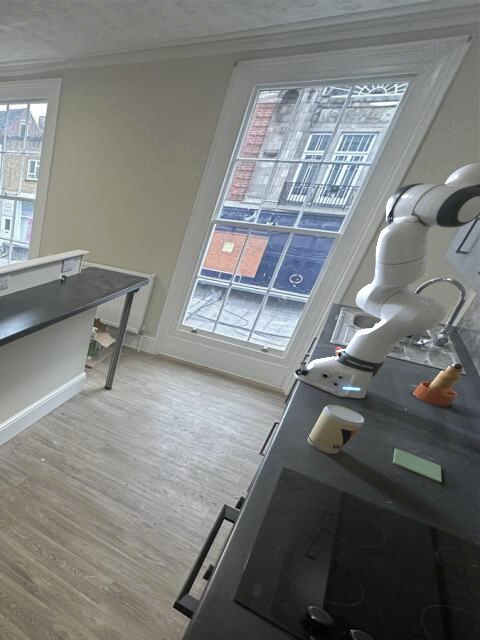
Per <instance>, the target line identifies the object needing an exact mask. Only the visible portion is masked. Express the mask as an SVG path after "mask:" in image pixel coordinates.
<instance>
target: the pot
mask: <svg viewBox="0 0 480 640" xmlns="http://www.w3.org/2000/svg"><path fill="white" fill-rule="evenodd" d="M431 383H432V382H430V381H421V382H420V383H419V384H418V386H417V387H416V388H415V390H413V391H412V394H413V395H414V396H415V397H416V398H418V399H420V400H421V401H424V402H426V403H429V404H432V405H436V406H440V407H449V406H450V405H451V404H452V402H453V401H454V400H455V399H456V398H457V397H458V396H459V394H458V393H457V392H456V391H455V390H453V389H451V390H450V391H449V392H448V393H447V394H446V395H445V394H441V393H438V392H435V391H433V390H430V389H428V387H429V385H430V384H431Z"/></svg>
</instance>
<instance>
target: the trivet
mask: <svg viewBox="0 0 480 640" xmlns="http://www.w3.org/2000/svg"><path fill="white" fill-rule="evenodd" d="M392 464H393V465H396V466H398V467H400V468H402V469H405V470H408V471H410V472H413V473H414V474H418V475H420V476H422V477H424V478H427V479H430V480H431V481H434V482H436V483H439V484H441V483H442V482H443V481H442V466H441V465H440V464H437V463H435V462H432V461H430V460H427V459H425V458H423V457H420V456H417V455H414V454H413V453H409V452H407V451H404V450H402V449H399V448H397V447H396V448H394V453H393V460H392Z"/></svg>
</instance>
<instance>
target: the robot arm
mask: <svg viewBox="0 0 480 640" xmlns="http://www.w3.org/2000/svg"><path fill="white" fill-rule="evenodd" d="M385 214H386V216H385V219H386V222H387V224H388V225H387V226H385V227H384V228H383V230H382V231H381V233H380V235H379V238H378V242H377V246H376V251H375V268H374V269H375V271H374V278H373V281H372V282H371V283H370V284H368V285H366V286H364V287H363V288H361V290H359V292H358V293H357V295H356V297H355V304H356V305H357V307H358V308H359V309H361V310H362V311H363V312H365V313H366V314H368V315H371V316H372V317H375V318H378V319H379V320H380V322H379V323H378V324H376V325H375V326H374V327H371V328H370V327H369V328H363V329H361V330H358V331H357V332H356V333H355V334H354V336H352V338H351V340H350V341H349V343H348V344H347V346H346V348H344V349H343V347H342V346H338V347H336V348H335V350H334V351H335V353H334V354H333V356H330V357H323V358H318V359H314V360H312V361H310V362H309V363H308V364H307V365H302V364H300V365H299V367H298V368H297V369H296V370H295V371H294V373H293V376H294V378H296V380H298V381H300V382H302V383H306V384H308V385H311V386H312V387H315V388H317V389H319V390H322V391H324V392H327V393H329V394H331V395H334V396H336V397H339V398H352V399H364V398H366V396H367V391H368V389H369V386H370V384H371V382H372V380H373V378H374V377H375V376H376V375H377V374H378V373H379V372H380V370H381V369H382V368H383V366H384V363H385V360H386V359H387V357H388V356H389V354H391V352H392V350H393V349H394V348H395V347H396V346H397V345H398V344H399V343H400V342H401V341H403V340H404V339H406V338H408V337H410V336H411V335H413V334H417V333H422V332H426V331H429V330H431V329H434V328H435V327H437V326H438V325H440V323H441V322H442V321H443V320H444V319H445V316H446V308H445V306H444V305H442V304H441V303H439V302H437V300H434V299H433V298H431V297H429V296H425V295H422V294H419V293H417V292H414V291H411V290H410V288H409V285H412V284H413V283H414V284H415V282H417V281H418V280H420V279H421V278H422V277H423V276H424V274H425V273H426V265H427V264H426V263H427V253H428V237H427V235H428V232H429V230H431V227H441V228H460V227H464V226H465V225H468V224H469V223H471V222H472V221H474V220H476V219H477V220H478V221H480V162H474V163H470V164H467V165H464V166H462V167H460V168H458V169H457V170H455V171H454V172H453V173H452V174H451V175H450V176H448V178H446V181H445V182H444V183H422V182H419V183H411V184H408V185H403V186H402V187H399V188H398V189H397V190H396V191H395V192H394V193H393V194H392V195H391V196H390V198H389V199H388V201H387V203H386V210H385Z"/></svg>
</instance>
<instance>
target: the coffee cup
mask: <svg viewBox="0 0 480 640" xmlns="http://www.w3.org/2000/svg"><path fill="white" fill-rule="evenodd" d="M364 424H365V418H364V417H363V415H361V414H360V413H358V412H357V411H355V410H353V409H351V408H348V407H345V406H342V405H338V404H328V405H326V406H325V407H323V410H322V411H321V413H320V415H319V417H318V419H317V421H316V422H315V425H313V428H312V430H311V432H310V433H309V435H308V437H307V442H308V443H309V445H311V446H312V448H315V449H316V450H318V451H321V452H324V453H327V454H332V455H333V454H337V453H339V452H340V451H341V450H342V449H343V447H344V446H345V445H346V444H347V443H348V442H349V441H350V440H351V439H352V437H353V436H354V435H355V434H356V433H357V432H358V431H359V430H360V429H361V427H363V426H364ZM309 437H310V439H311V440H312V441H314V442H315V443H317V444H319V445H321V446H323V447H325V448H328V449H332V450H340V449H341V450H340V451H329V450H326V449H323V448H321V447H319V446H317V445H315V444H314V443H313V442H311V441H310V439H309Z"/></svg>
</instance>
